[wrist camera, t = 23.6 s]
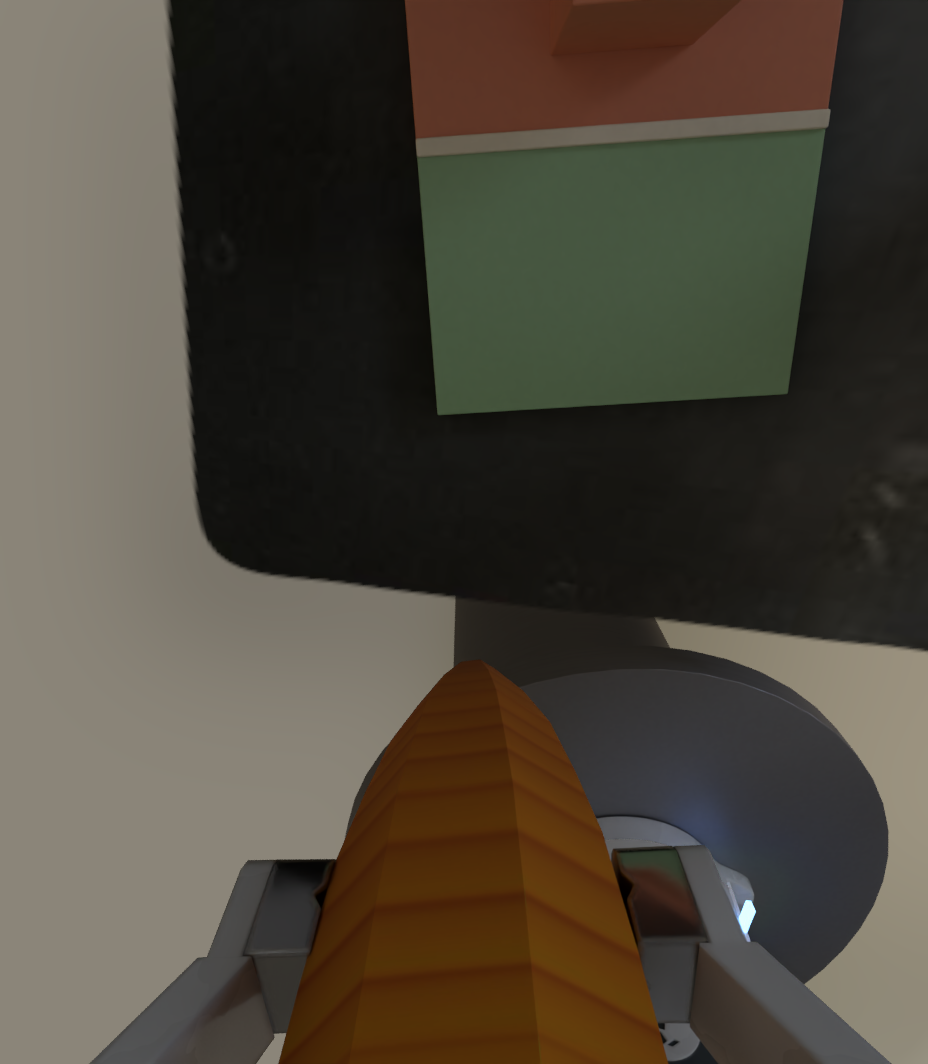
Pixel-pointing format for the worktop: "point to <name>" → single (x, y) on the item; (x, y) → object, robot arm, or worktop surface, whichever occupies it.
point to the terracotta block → (630, 23)
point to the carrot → (474, 904)
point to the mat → (615, 204)
